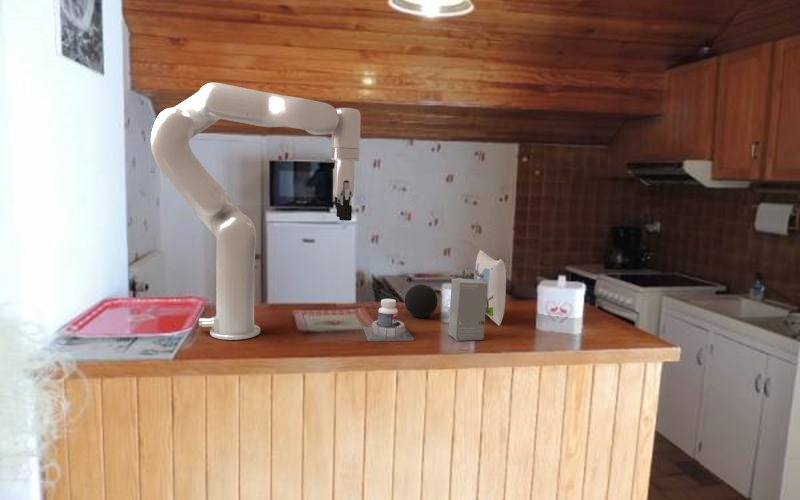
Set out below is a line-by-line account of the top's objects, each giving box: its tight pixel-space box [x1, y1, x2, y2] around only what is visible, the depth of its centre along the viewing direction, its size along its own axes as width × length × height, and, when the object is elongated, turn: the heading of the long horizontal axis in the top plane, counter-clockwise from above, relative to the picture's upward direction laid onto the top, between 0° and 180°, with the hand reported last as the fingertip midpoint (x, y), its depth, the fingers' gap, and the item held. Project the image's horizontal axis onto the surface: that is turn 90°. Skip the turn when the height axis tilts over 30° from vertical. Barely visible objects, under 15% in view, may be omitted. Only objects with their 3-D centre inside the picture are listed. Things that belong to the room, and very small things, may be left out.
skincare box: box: [447, 278, 488, 342], centre depth 153 cm, size 8×7×16 cm
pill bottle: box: [377, 298, 399, 327], centre depth 153 cm, size 5×5×9 cm
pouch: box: [473, 249, 507, 327], centre depth 174 cm, size 8×19×20 cm, turn 7°
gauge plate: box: [362, 319, 415, 342], centre depth 153 cm, size 12×11×3 cm
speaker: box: [404, 284, 439, 318], centre depth 173 cm, size 10×10×10 cm
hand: (343, 218), depth 156 cm, fingers open, 9 cm apart
